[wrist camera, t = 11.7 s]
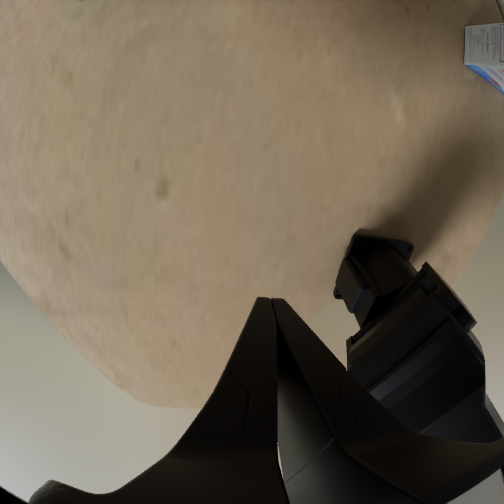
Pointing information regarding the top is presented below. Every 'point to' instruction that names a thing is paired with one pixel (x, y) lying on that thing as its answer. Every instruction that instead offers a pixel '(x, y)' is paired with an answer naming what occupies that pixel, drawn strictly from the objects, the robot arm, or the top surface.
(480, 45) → the medicine box
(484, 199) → the top surface
